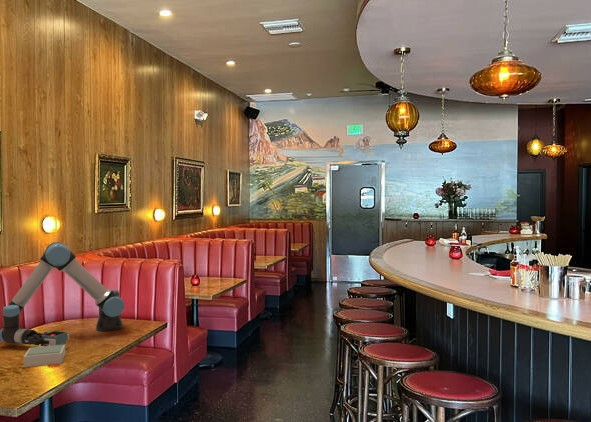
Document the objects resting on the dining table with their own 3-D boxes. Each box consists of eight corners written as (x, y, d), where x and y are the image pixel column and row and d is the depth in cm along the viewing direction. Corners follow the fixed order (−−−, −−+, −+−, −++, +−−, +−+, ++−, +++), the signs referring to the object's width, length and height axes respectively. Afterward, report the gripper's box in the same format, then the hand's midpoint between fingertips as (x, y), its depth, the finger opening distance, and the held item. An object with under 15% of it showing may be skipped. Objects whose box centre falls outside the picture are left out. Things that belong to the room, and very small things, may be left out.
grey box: (65, 354, 242) (65, 343, 242) (61, 363, 229) (61, 351, 229) (29, 358, 237) (29, 347, 237) (23, 367, 224) (23, 355, 224)
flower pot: (54, 354, 243) (54, 336, 243) (41, 352, 246) (40, 335, 246) (68, 349, 251) (67, 331, 251) (54, 347, 254) (54, 330, 254)
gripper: (42, 338, 264) (76, 341, 258) (9, 349, 243) (45, 353, 237) (42, 324, 264) (76, 327, 257) (8, 335, 243) (45, 338, 237)
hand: (61, 339), depth 247 cm, fingers closed on flower pot, 9 cm apart
